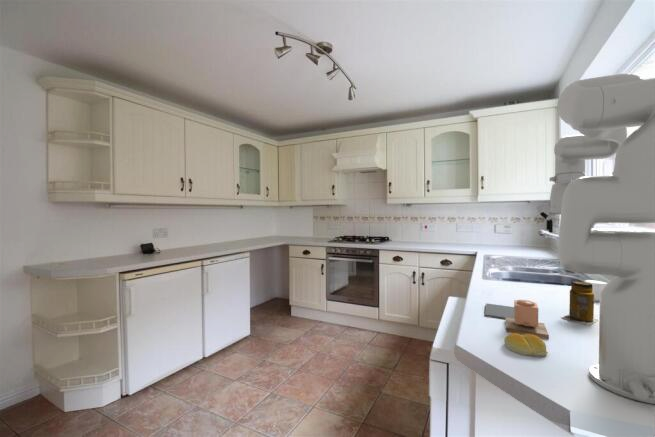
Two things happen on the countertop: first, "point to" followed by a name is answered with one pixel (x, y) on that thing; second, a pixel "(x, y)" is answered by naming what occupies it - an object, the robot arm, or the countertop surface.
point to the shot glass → (597, 288)
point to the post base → (526, 329)
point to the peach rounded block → (526, 313)
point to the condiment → (581, 303)
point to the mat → (499, 311)
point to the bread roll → (526, 344)
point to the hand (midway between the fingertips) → (569, 232)
